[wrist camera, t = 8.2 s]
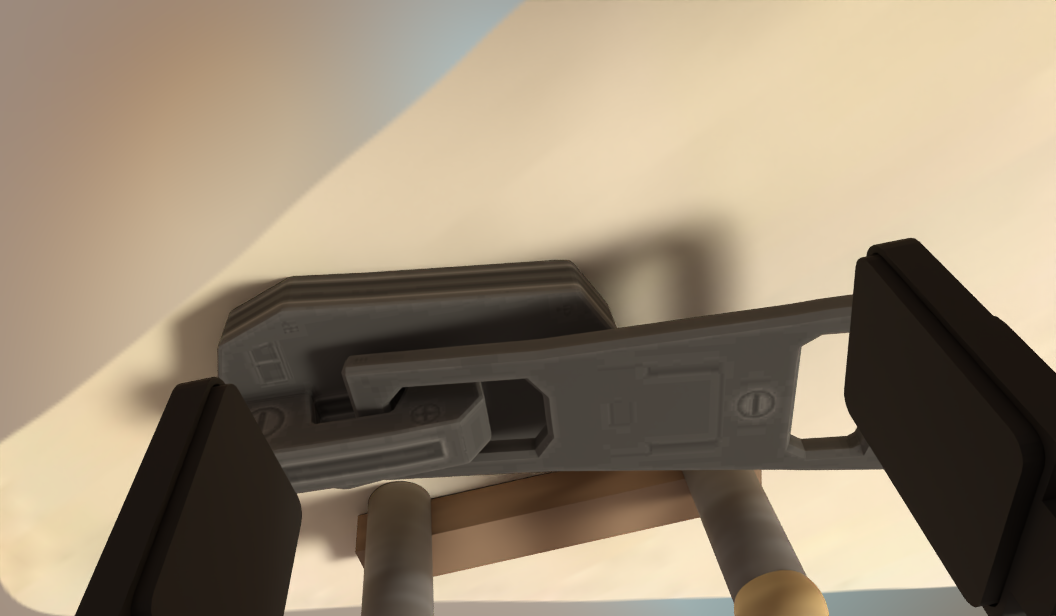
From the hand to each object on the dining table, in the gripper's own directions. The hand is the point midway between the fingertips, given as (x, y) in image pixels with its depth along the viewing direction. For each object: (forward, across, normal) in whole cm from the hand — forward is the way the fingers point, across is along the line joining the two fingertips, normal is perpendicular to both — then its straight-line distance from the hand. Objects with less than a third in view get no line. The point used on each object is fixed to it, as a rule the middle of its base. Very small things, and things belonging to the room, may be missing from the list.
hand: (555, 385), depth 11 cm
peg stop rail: (+15, +1, +18) cm, 24 cm away
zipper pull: (+15, 0, +11) cm, 19 cm away
